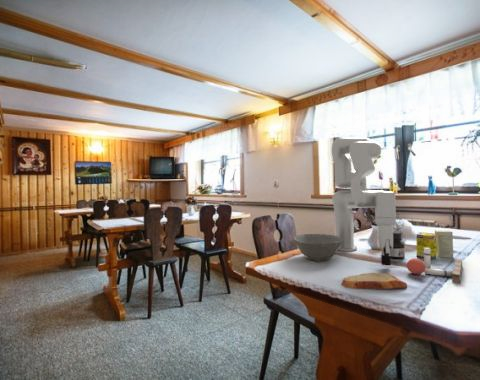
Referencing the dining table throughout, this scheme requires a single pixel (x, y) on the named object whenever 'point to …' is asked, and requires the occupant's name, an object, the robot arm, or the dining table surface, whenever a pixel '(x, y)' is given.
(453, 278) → the back rail
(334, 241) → the ceramic bowl
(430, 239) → the supplement box
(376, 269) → the dining table surface
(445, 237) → the skincare box
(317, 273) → the dining table surface
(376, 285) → the slice of bread
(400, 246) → the ink bottle
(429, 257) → the pin
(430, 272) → the pin
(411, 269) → the ball
